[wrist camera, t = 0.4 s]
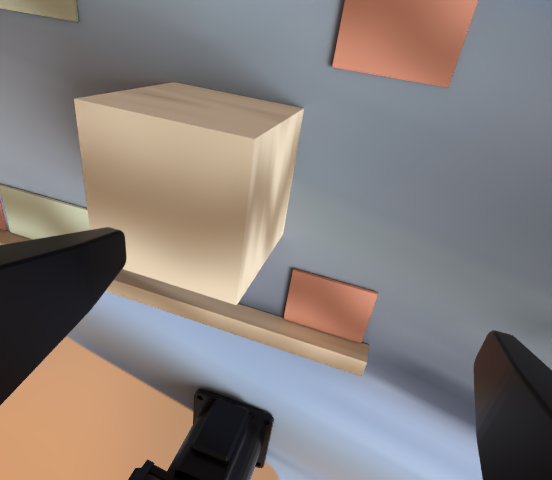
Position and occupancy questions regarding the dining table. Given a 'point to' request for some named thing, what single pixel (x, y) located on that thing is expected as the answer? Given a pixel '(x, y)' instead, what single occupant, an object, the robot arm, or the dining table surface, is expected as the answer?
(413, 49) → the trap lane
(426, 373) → the dining table surface
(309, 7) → the dining table surface
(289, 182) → the maple block
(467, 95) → the dining table surface
